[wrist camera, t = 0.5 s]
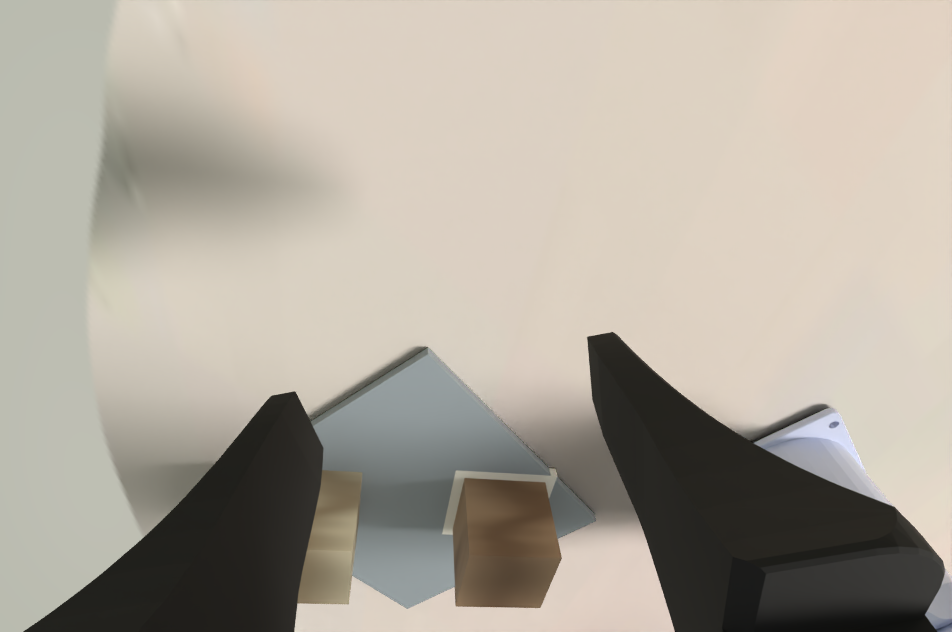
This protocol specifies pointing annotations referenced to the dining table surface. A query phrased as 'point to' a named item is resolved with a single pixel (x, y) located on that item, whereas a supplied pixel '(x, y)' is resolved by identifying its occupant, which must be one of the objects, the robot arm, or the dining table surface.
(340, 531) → the birch block
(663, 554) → the robot arm
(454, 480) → the light blue flat plate
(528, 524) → the walnut block
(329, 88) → the dining table surface
